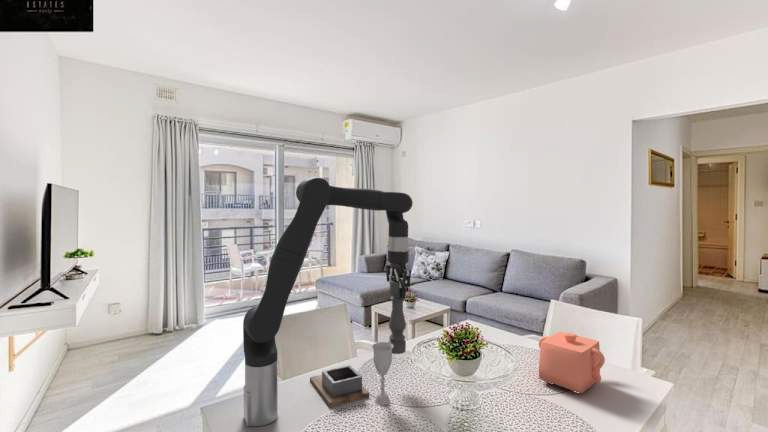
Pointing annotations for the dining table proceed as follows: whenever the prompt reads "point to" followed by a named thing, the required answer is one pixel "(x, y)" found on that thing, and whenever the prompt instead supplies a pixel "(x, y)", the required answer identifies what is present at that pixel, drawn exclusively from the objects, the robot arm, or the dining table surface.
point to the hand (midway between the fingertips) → (397, 296)
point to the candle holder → (397, 320)
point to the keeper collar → (341, 381)
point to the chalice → (382, 367)
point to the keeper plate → (331, 402)
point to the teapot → (570, 361)
